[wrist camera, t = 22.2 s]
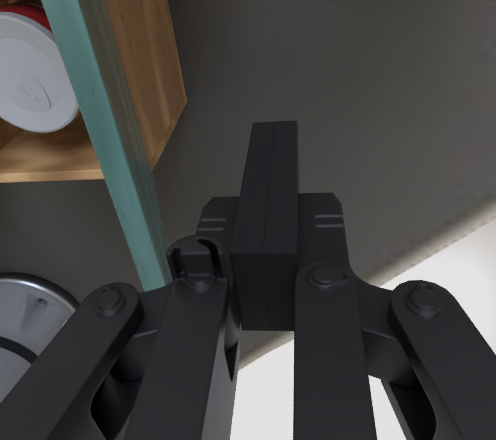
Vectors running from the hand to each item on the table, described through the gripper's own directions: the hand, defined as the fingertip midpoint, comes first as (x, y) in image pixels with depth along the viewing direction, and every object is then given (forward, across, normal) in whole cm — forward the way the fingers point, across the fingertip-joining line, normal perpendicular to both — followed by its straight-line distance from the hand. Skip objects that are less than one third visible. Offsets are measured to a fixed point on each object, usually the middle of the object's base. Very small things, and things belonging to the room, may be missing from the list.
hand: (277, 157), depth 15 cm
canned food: (+24, -17, -1) cm, 30 cm away
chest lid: (+4, -8, 0) cm, 9 cm away
